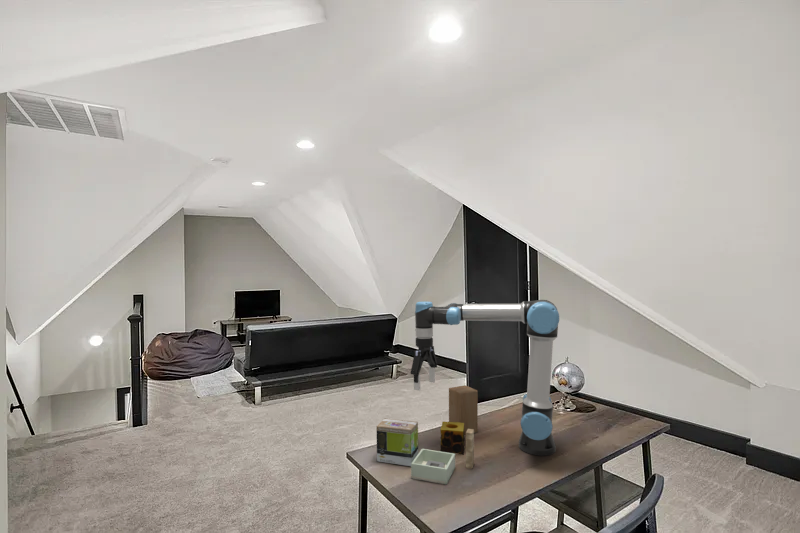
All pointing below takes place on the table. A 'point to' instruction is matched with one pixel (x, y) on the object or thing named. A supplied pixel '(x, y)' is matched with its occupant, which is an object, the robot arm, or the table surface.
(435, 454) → the pale green square tray
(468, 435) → the long wooden plank
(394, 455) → the tea box
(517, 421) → the table surface
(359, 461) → the table surface
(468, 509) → the table surface
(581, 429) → the table surface
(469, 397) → the wooden block
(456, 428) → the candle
